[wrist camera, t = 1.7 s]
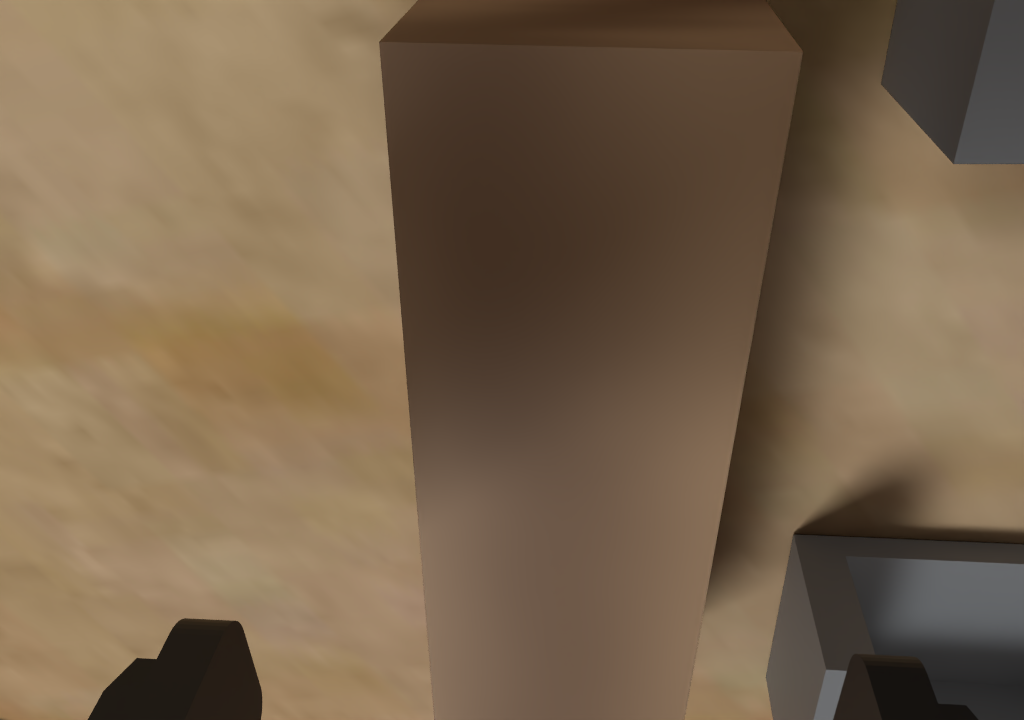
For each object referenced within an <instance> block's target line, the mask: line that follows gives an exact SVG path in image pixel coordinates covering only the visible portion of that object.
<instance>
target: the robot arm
mask: <svg viewBox="0 0 1024 720" xmlns="http://www.w3.org/2000/svg"><path fill="white" fill-rule="evenodd" d="M261 714H262V691H261V687H260V683H259V680H258V677H257V673H256V670H255V667H254V663H253V660H252V657H251V653H250V650H249V647H248V643H247V640H246V637H245V633H244V630H243V627H242V625H241V624H240V623H239V622H238V621H226V620H206V619H186V618H185V619H182V620H180V621H178V622H177V623H176V625H175V626H174V627H173V629H172V630H171V632H170V634H169V636H168V638H167V640H166V642H165V644H164V646H163V648H162V650H161V652H160V654H159V656H158V658H157V659H142V658H137V659H136V660H135V661H134V662H133V663H132V664H131V665H130V666H128V667H127V668H126V669H125V670H124V671H123V672H122V673H121V674H120V675H119V676H118V677H117V678H116V679H115V680H114V681H113V682H112V683H111V684H110V685H109V686H108V687H107V688H106V689H105V690H104V691H103V693H102V695H101V697H100V698H99V700H98V702H97V704H96V706H95V708H94V709H93V711H92V713H91V715H90V717H89V718H88V720H261ZM833 720H978V718H977V717H976V716H975V715H974V714H973V713H972V711H971V710H970V709H969V708H968V707H967V706H966V705H955V704H938V702H937V699H936V696H935V693H934V691H933V688H932V685H931V683H930V680H929V677H928V674H927V672H926V670H925V667H924V666H923V664H922V662H921V661H920V660H919V659H918V658H917V657H912V656H892V655H871V654H854V655H853V656H852V657H851V659H850V662H849V665H848V669H847V672H846V676H845V679H844V683H843V687H842V690H841V694H840V697H839V701H838V704H837V708H836V711H835V715H834V718H833Z"/></svg>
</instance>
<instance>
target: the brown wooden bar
mask: <svg viewBox="0 0 1024 720" xmlns="http://www.w3.org/2000/svg"><path fill="white" fill-rule="evenodd" d="M379 44H380V56H381V69H382V81H383V93H384V106H385V118H386V130H387V142H388V155H389V167H390V179H391V192H392V204H393V216H394V229H395V241H396V253H397V266H398V278H399V290H400V303H401V315H402V327H403V340H404V352H405V364H406V377H407V389H408V401H409V413H410V426H411V438H412V450H413V463H414V475H415V487H416V500H417V512H418V524H419V537H420V549H421V561H422V574H423V586H424V598H425V611H426V623H427V635H428V648H429V660H430V672H431V684H432V697H433V709H434V720H685V714H686V708H687V703H688V697H689V692H690V686H691V680H692V675H693V669H694V663H695V658H696V652H697V646H698V641H699V635H700V630H701V624H702V618H703V613H704V607H705V601H706V596H707V590H708V585H709V579H710V573H711V568H712V562H713V556H714V551H715V545H716V540H717V534H718V528H719V523H720V517H721V511H722V506H723V500H724V495H725V489H726V483H727V478H728V472H729V466H730V461H731V455H732V450H733V444H734V438H735V433H736V427H737V421H738V416H739V410H740V404H741V399H742V393H743V388H744V382H745V376H746V371H747V365H748V359H749V354H750V348H751V343H752V337H753V331H754V326H755V320H756V314H757V309H758V303H759V298H760V292H761V286H762V281H763V275H764V269H765V264H766V258H767V253H768V247H769V241H770V236H771V230H772V224H773V219H774V213H775V208H776V202H777V196H778V191H779V185H780V179H781V174H782V168H783V162H784V157H785V151H786V146H787V140H788V134H789V129H790V123H791V117H792V112H793V106H794V101H795V95H796V89H797V84H798V78H799V72H800V67H801V61H802V56H803V51H802V50H801V48H800V47H799V45H798V44H797V43H796V41H795V40H794V39H793V37H792V36H791V35H790V33H789V32H788V30H787V29H786V28H785V26H784V25H783V24H782V22H781V21H780V19H779V18H778V17H777V15H776V14H775V13H774V11H773V10H772V8H771V7H770V6H769V4H768V3H767V2H766V0H418V1H417V2H416V3H415V4H414V5H413V6H412V8H411V9H410V10H409V11H408V12H407V13H406V14H405V15H404V16H403V17H402V18H401V19H400V20H399V21H398V23H397V24H396V25H395V26H394V27H393V28H392V29H391V30H390V31H389V32H388V33H387V34H386V35H385V36H384V38H383V39H382V40H381V41H380V42H379Z"/></svg>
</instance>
